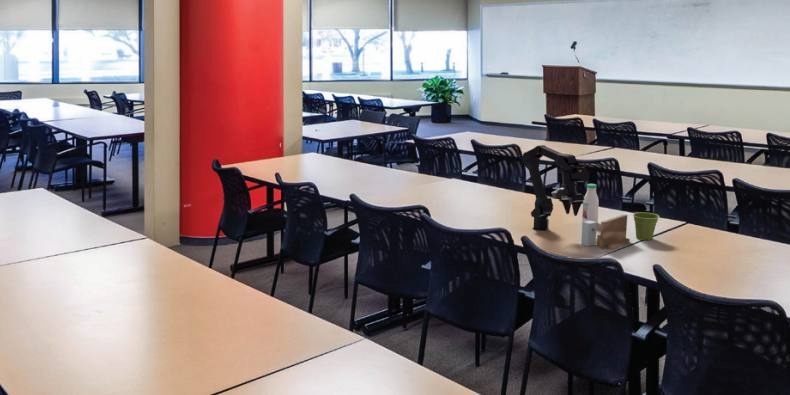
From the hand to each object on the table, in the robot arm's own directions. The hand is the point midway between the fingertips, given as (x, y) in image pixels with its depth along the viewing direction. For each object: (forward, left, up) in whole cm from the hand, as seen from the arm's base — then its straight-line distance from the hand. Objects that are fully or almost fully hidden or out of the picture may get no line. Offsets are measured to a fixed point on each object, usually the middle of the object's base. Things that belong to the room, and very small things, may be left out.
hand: (571, 214), depth 340 cm
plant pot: (+32, +13, -11) cm, 36 cm away
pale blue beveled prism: (+10, -8, -11) cm, 17 cm away
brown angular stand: (+17, -2, -11) cm, 21 cm away
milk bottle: (+3, +33, -11) cm, 35 cm away
